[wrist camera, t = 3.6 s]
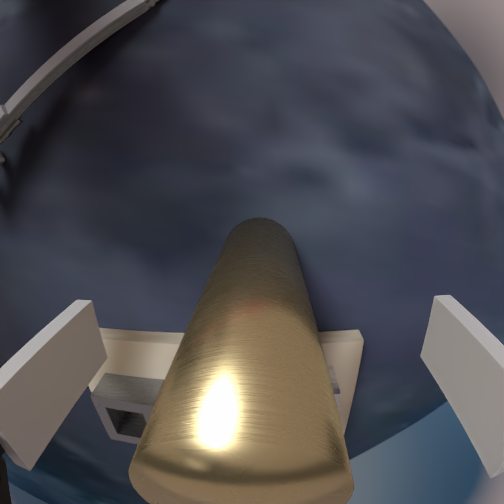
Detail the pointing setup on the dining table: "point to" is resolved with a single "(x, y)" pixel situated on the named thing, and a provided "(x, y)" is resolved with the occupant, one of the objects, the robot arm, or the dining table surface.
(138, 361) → the fitting board
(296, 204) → the dining table surface
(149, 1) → the caliper
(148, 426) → the brass cylinder
